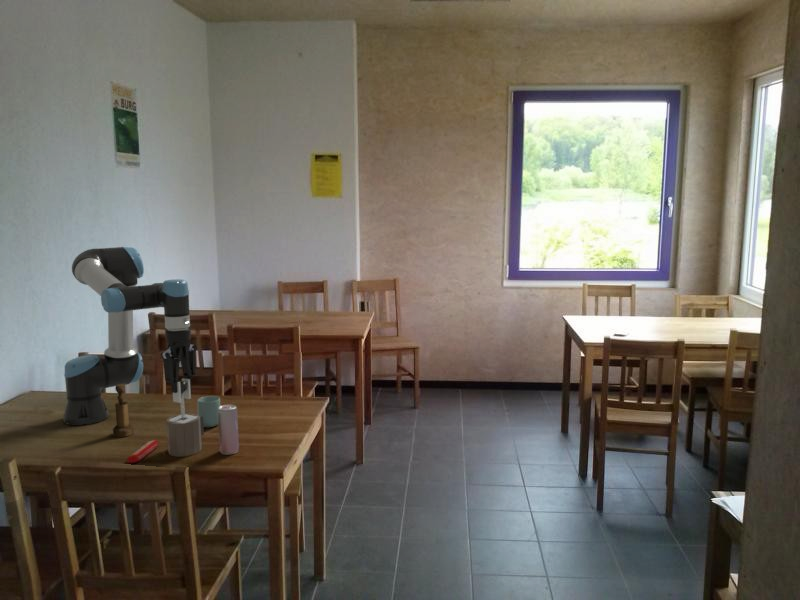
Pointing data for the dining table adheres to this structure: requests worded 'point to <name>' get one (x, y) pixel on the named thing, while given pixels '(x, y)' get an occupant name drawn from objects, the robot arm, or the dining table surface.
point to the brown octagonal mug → (184, 434)
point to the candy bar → (142, 451)
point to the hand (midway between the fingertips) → (182, 400)
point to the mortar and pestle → (122, 415)
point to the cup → (208, 410)
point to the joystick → (182, 398)
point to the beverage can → (228, 429)
